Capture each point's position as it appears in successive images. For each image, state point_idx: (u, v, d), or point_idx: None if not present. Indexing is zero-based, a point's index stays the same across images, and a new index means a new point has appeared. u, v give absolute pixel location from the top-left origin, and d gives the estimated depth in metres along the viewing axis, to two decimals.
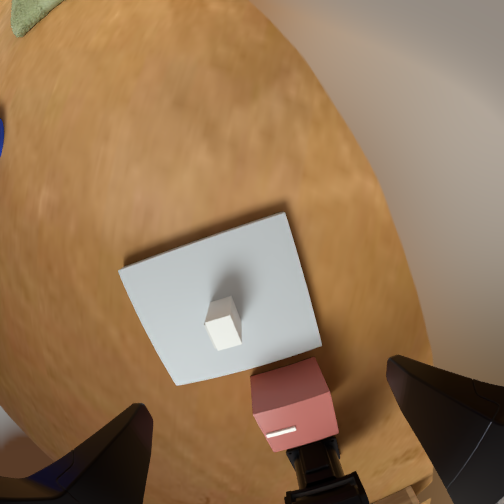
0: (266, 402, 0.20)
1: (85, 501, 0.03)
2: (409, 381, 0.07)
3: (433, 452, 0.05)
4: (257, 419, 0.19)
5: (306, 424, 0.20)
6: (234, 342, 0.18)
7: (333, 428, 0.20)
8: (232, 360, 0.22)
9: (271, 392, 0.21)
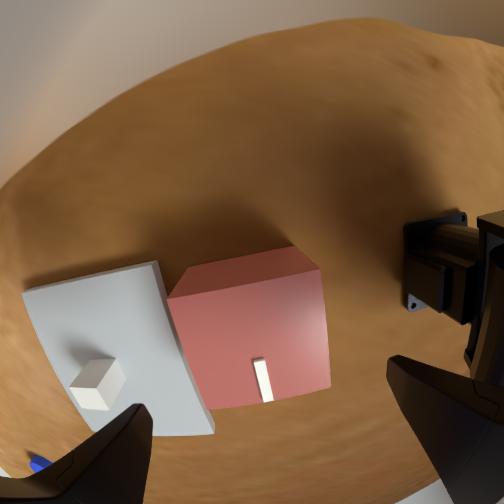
0: None
1: (85, 501, 0.03)
2: (409, 381, 0.07)
3: (433, 452, 0.05)
4: (220, 406, 0.12)
5: (256, 340, 0.11)
6: (95, 393, 0.12)
7: (296, 284, 0.11)
8: (169, 378, 0.16)
9: None
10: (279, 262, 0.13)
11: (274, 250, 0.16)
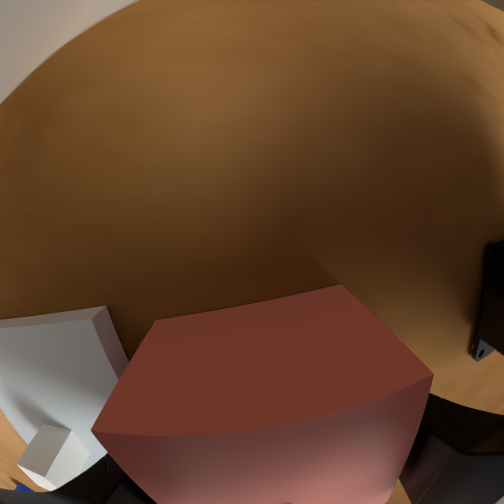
0: None
1: None
2: None
3: None
4: None
5: (280, 491, 0.04)
6: (47, 481, 0.05)
7: (380, 412, 0.04)
8: None
9: None
10: (329, 339, 0.06)
11: (307, 294, 0.09)
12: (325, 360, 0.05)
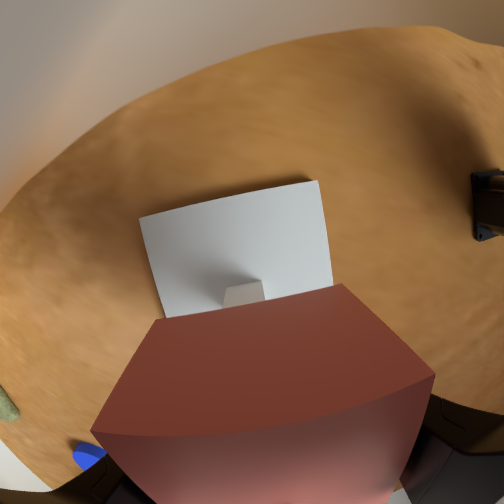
0: None
1: None
2: None
3: None
4: None
5: (281, 491, 0.04)
6: None
7: (382, 411, 0.04)
8: None
9: None
10: (331, 339, 0.06)
11: (307, 294, 0.08)
12: (326, 360, 0.05)
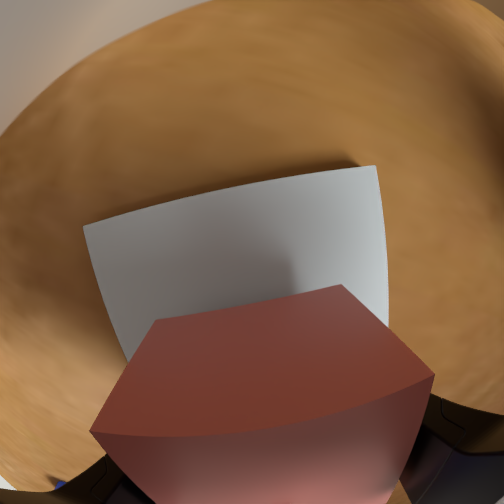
0: None
1: None
2: None
3: None
4: None
5: (280, 492, 0.04)
6: None
7: (381, 412, 0.04)
8: None
9: None
10: (330, 339, 0.06)
11: (307, 294, 0.08)
12: (326, 360, 0.05)
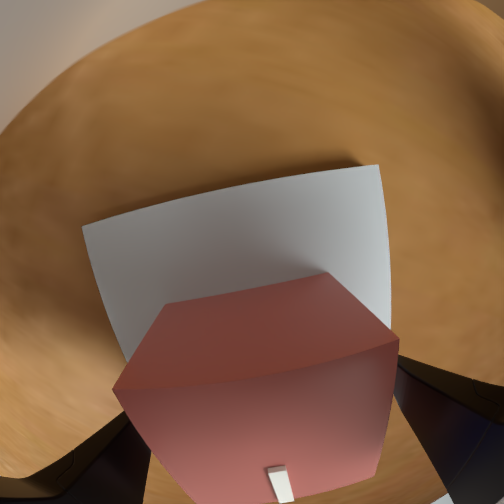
0: None
1: (85, 501, 0.03)
2: (409, 381, 0.07)
3: (433, 452, 0.05)
4: None
5: (274, 449, 0.05)
6: None
7: (355, 369, 0.05)
8: None
9: None
10: (314, 313, 0.07)
11: (298, 281, 0.10)
12: (309, 328, 0.06)
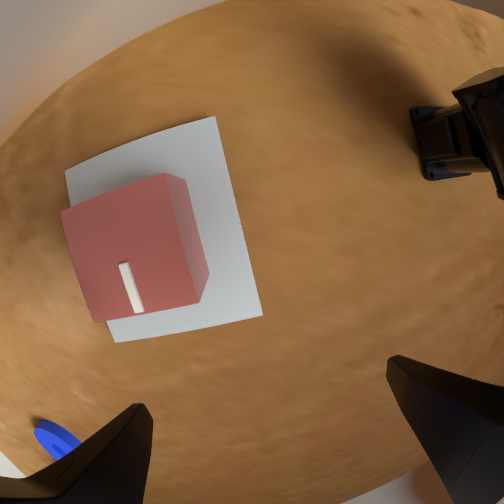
0: None
1: (85, 501, 0.03)
2: (409, 381, 0.07)
3: (433, 452, 0.05)
4: (103, 318, 0.13)
5: (119, 243, 0.12)
6: None
7: (145, 187, 0.12)
8: (221, 234, 0.18)
9: None
10: None
11: None
12: None
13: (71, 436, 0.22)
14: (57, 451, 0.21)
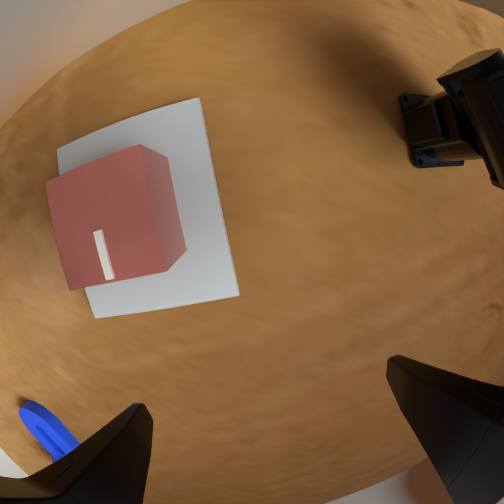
0: None
1: (85, 501, 0.03)
2: (409, 381, 0.07)
3: (434, 452, 0.05)
4: (77, 286, 0.13)
5: (95, 211, 0.12)
6: None
7: (122, 158, 0.12)
8: (199, 211, 0.18)
9: None
10: None
11: None
12: None
13: (54, 418, 0.23)
14: (40, 433, 0.22)
